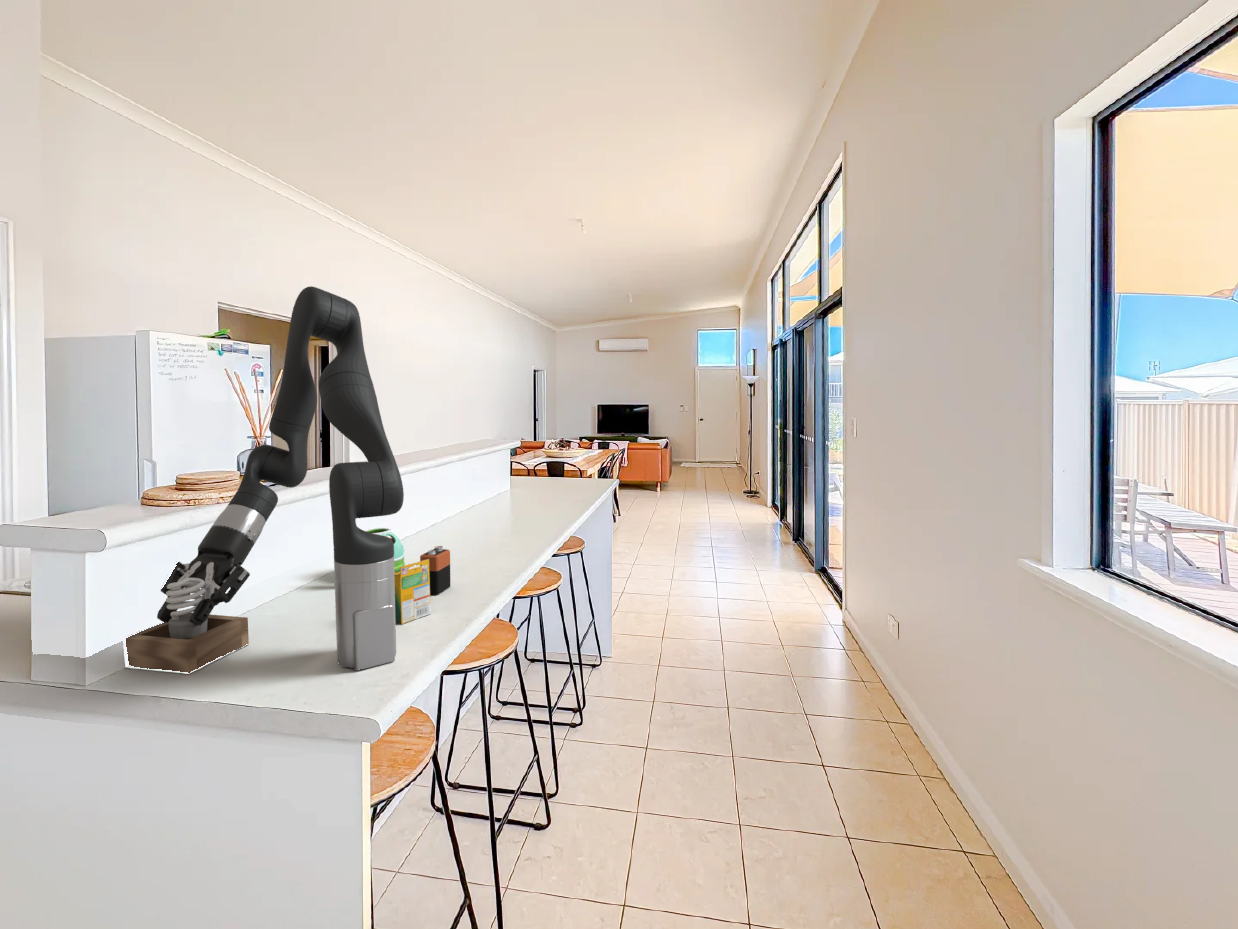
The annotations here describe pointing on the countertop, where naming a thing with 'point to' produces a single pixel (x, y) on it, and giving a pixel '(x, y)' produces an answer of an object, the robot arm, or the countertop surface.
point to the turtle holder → (398, 546)
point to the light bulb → (180, 619)
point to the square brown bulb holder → (187, 645)
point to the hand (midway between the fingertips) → (178, 621)
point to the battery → (438, 569)
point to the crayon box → (412, 592)
